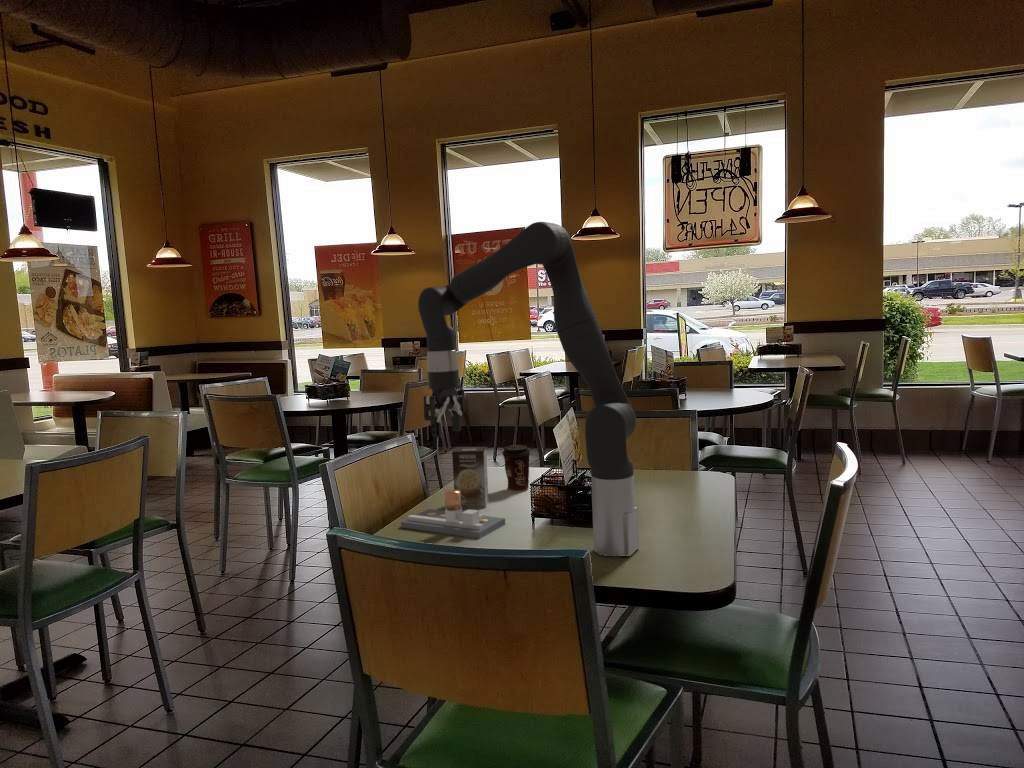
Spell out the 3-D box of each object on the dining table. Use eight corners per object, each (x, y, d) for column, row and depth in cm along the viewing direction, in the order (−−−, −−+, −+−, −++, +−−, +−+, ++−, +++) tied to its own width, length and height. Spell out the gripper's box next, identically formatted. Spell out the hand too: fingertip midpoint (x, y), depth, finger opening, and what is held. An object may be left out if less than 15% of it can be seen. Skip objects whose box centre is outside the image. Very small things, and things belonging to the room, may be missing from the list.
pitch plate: (505, 524, 184) (504, 503, 184) (479, 538, 174) (478, 516, 173) (429, 514, 196) (427, 494, 196) (401, 527, 186) (399, 506, 185)
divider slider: (474, 516, 184) (472, 486, 184) (456, 525, 178) (454, 493, 177) (461, 514, 186) (459, 484, 186) (443, 523, 180) (441, 492, 179)
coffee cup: (499, 488, 220) (497, 446, 219) (523, 484, 224) (521, 442, 222) (511, 494, 212) (509, 451, 211) (536, 490, 216) (534, 447, 214)
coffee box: (453, 508, 201) (450, 451, 199) (457, 502, 207) (454, 446, 205) (486, 507, 200) (483, 450, 198) (489, 501, 206) (486, 445, 205)
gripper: (438, 372, 170) (442, 440, 171) (471, 366, 182) (475, 429, 184) (412, 372, 173) (417, 438, 175) (447, 366, 186) (451, 428, 187)
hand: (447, 434), depth 179 cm, fingers open, 8 cm apart
